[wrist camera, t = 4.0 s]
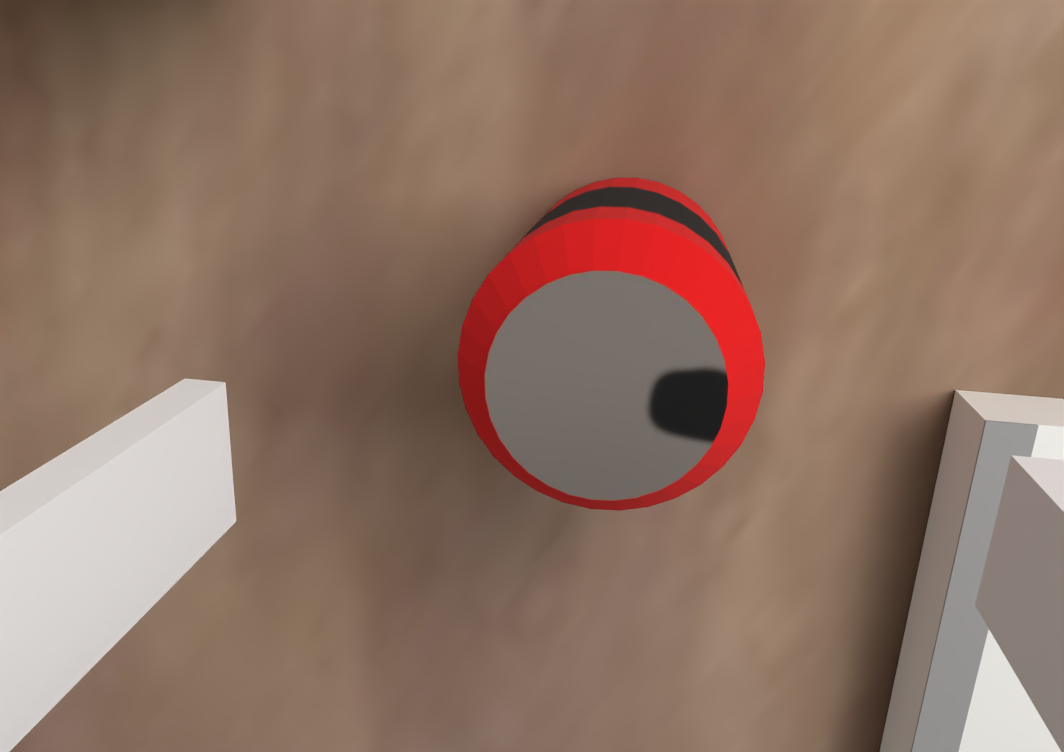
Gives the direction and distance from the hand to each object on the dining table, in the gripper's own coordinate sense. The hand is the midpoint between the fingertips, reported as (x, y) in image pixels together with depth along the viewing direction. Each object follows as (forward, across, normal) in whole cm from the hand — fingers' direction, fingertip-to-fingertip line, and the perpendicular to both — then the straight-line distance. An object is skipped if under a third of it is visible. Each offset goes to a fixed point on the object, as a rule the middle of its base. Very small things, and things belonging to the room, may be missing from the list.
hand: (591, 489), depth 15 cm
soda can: (+18, 0, 0) cm, 18 cm away
